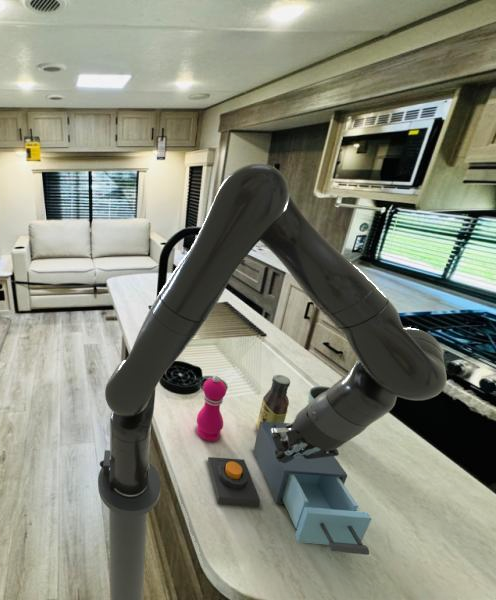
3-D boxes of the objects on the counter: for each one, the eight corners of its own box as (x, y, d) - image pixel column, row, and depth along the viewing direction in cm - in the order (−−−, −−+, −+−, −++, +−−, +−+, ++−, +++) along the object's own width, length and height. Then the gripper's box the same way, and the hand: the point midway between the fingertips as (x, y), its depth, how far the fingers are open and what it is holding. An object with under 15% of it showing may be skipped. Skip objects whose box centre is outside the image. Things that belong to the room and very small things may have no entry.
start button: (227, 479, 74) (228, 473, 73) (223, 465, 77) (224, 460, 76) (243, 480, 73) (244, 474, 72) (238, 467, 76) (239, 461, 76)
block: (217, 503, 72) (219, 491, 70) (207, 463, 82) (208, 451, 80) (258, 507, 71) (261, 495, 69) (242, 465, 81) (245, 454, 79)
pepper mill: (196, 441, 89) (204, 383, 81) (194, 422, 95) (200, 367, 88) (223, 444, 87) (233, 385, 80) (218, 425, 94) (227, 369, 87)
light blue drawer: (375, 576, 58) (391, 545, 54) (309, 568, 59) (321, 539, 56) (320, 485, 74) (330, 458, 71) (270, 481, 76) (277, 454, 72)
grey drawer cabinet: (334, 508, 70) (347, 475, 66) (275, 503, 71) (285, 470, 67) (302, 455, 83) (311, 424, 80) (253, 451, 85) (259, 421, 81)
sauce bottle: (254, 424, 94) (266, 368, 87) (277, 428, 92) (291, 372, 85) (257, 440, 88) (270, 382, 81) (281, 445, 86) (297, 387, 79)
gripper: (361, 409, 57) (306, 449, 68) (288, 390, 58) (245, 432, 69) (380, 450, 51) (316, 485, 63) (299, 428, 52) (250, 466, 64)
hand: (279, 457), depth 66 cm, fingers closed
